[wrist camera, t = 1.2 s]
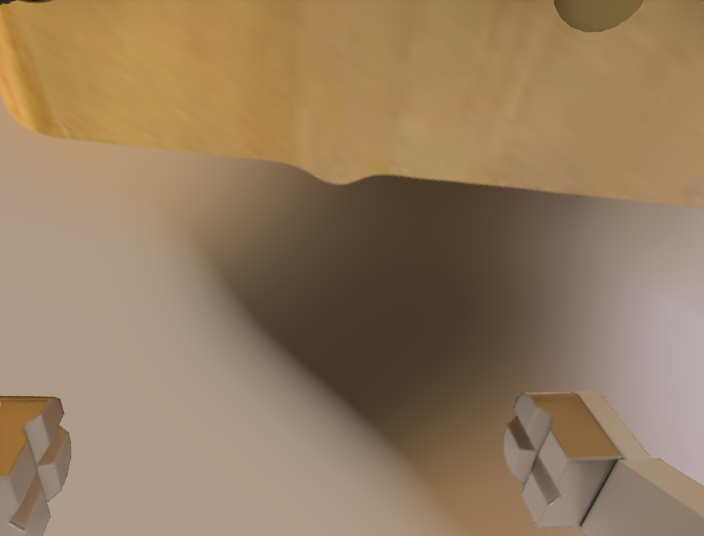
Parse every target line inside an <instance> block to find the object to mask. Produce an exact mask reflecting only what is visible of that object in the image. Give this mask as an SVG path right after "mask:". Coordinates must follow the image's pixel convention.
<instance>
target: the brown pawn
mask: <svg viewBox="0 0 704 536" xmlns="http://www.w3.org/2000/svg"><path fill="white" fill-rule="evenodd" d="M643 1H644V0H554V5H555V7H556V9H557V11H558V13H559V15H560V17H561V18H562V19H563V20H564V21H565V22H566V23H567V24H568V25H569V26H571V27H572V28H575V29H578V30H581V31H585V32H601V31H604V30H607V29H610V28H613V27H616V26H617V25H619V24H620V23H622V22H623V21H625V20H627V19H628V18H629V17H630V16H631V15H632V14H633V13H634V12H635V11H636V10H637V9H638V8H639V7H640V6H641V4H642V3H643Z"/></svg>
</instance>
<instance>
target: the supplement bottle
mask: <svg viewBox="0 0 704 536" xmlns="http://www.w3.org/2000/svg"><path fill="white" fill-rule="evenodd" d="M13 1H16V0H0V5H2V4H9V3H11V2H13ZM18 1H22V2H27V3H45V2H49V1H52V0H18Z"/></svg>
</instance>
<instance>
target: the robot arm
mask: <svg viewBox="0 0 704 536" xmlns="http://www.w3.org/2000/svg"><path fill="white" fill-rule="evenodd" d="M513 408H514V410H515V412H516V414H517V416H516V417H515V418H514V419H512V420H511V421H510V422H509V423H508V424H507V425H506V428H505V431H504V435H503V452H504V457H505V461H506V464H507V466H508V468H509V470H510V473H511V474H512V475H513V476H514V477H515V478H517V479H518V480H519V481H520V482H522V483H523V484H524V485H523V489H522V493H521V496H522V498H523V500H524V502H525V505H526V507H527V509H528V511H529V513H530V515H531V517H532V519H533V522H534V524H535V525H536V528H558V527H581V528H580V530H581V531H582V532H583V533H584V534H585V535H586V536H704V486H702V485H701V484H699V483H698V482H696V481H695V480H693V479H691V478H690V477H688V476H686V475H685V474H683V473H682V472H680V471H678V470H677V469H675V468H674V467H672V466H671V465H669V464H667V463H666V462H664V461H663V460H661V459H652V458H651V457H650V455H649V454H648V453H647V452H646V450H645V449H644V448H643V446H641V444H640V443H639V441H638V440H637V439H636V438H635V436H634V435H633V434H632V433H631V431H630V430H629V429H628V427H627V426H626V425H625V423H624V422H623V421H622V419H621V418H620V417H619V416H618V414H617V413H616V412H615V410H614V409H613V408H612V407H611V405H610V404H609V403H608V401H607V400H606V399H605V398H604V396H603V395H601V394H600V393H598V392H596V391H577V392H576V391H572V392H527V393H526V392H525V393H521V394H520V395H519V396H518V397H517V399H516V401H515V404H514V406H513ZM63 415H64V411H63V407H62V404H61V400H60V399H59V398H56V397H34V396H30V397H29V396H0V536H43V534H44V531H45V529H46V527H47V524H48V522H49V519H50V517H51V515H50V511H49V508H48V504H47V502H48V501H50V500H51V499H52V498H53V497H55V496H56V495H57V494H58V493H59V492H60V491H61V490H62V488H63V485H64V483H65V480H66V478H67V475H68V470H69V465H70V460H71V441H70V437H69V433H68V432H67V431H66V430H65V429H63V428H62V427H61V426H59V424H60V422H61V419H62V417H63Z"/></svg>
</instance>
